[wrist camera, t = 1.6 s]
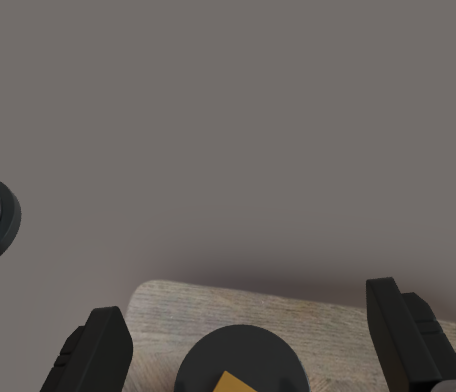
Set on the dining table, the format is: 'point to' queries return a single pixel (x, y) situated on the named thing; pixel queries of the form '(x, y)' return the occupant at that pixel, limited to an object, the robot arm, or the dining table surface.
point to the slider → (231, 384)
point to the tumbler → (242, 362)
